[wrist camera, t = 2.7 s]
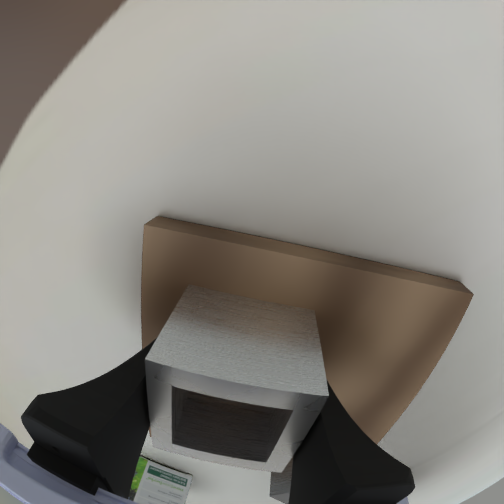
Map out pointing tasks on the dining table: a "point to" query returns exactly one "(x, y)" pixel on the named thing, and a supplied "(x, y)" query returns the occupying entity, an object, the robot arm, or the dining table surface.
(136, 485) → the syrup box
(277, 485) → the dark grey block
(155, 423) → the cube with square recess
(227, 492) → the dining table surface
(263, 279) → the board
